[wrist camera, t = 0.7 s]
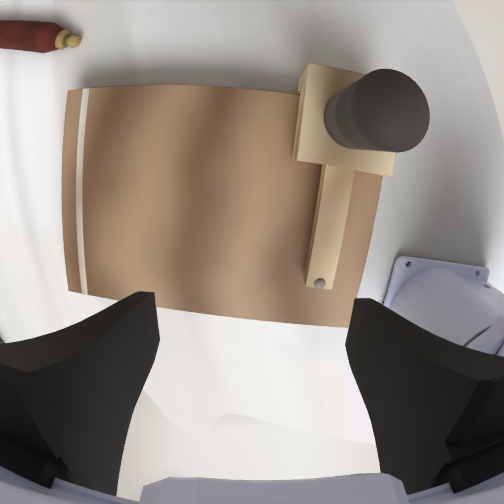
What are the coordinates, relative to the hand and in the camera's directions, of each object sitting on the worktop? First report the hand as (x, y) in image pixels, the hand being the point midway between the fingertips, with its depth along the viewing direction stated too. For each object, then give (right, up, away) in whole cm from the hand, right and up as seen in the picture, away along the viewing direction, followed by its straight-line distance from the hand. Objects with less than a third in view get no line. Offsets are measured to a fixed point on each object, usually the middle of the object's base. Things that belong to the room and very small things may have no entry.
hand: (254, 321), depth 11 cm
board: (-3, +6, +9) cm, 11 cm away
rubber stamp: (+5, +7, +8) cm, 11 cm away
